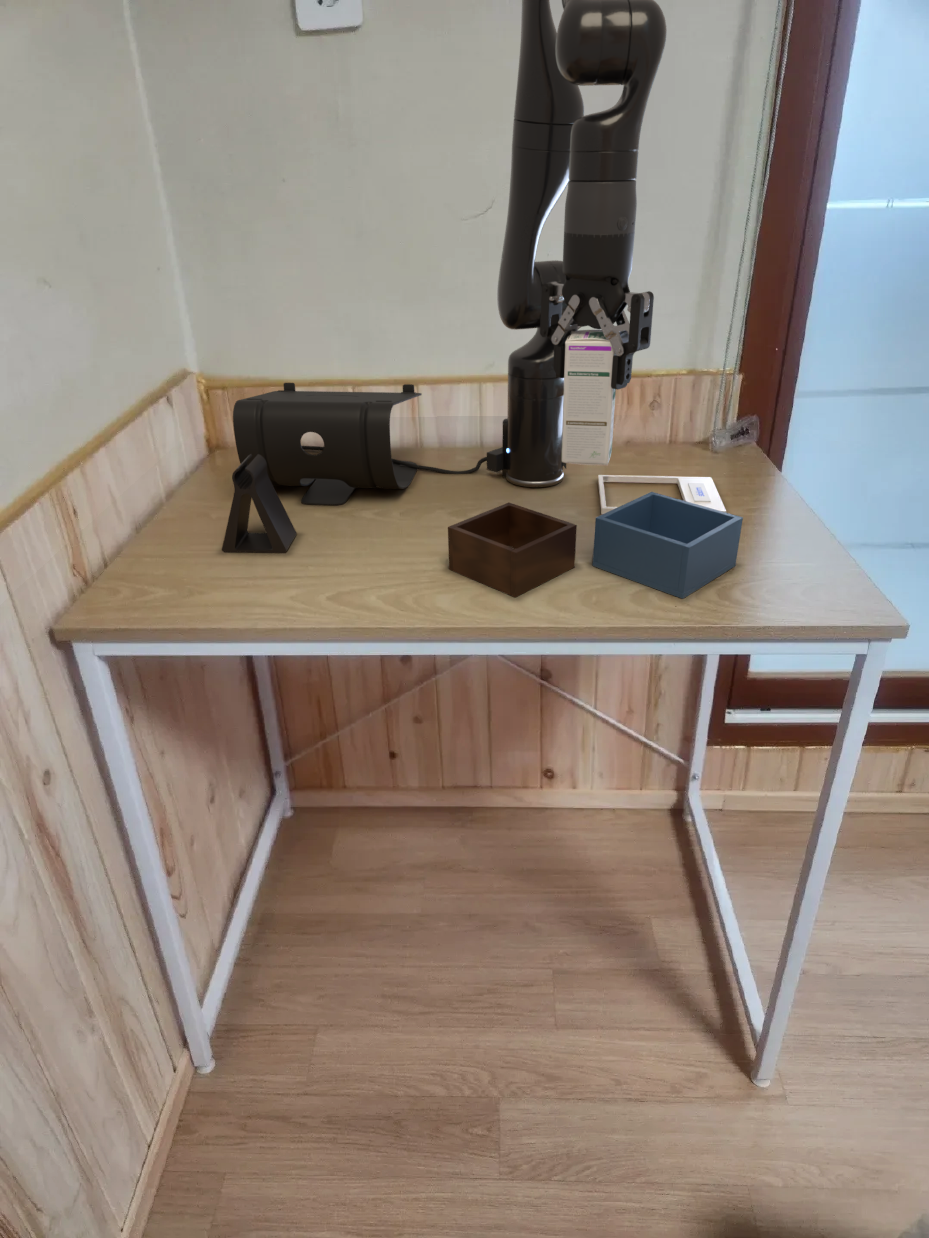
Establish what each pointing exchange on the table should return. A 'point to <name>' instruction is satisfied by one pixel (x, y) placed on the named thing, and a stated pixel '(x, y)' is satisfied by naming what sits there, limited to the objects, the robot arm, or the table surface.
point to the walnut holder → (512, 571)
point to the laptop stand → (346, 428)
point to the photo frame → (690, 487)
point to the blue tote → (666, 543)
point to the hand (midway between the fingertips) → (590, 382)
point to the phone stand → (269, 507)
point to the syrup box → (588, 399)
